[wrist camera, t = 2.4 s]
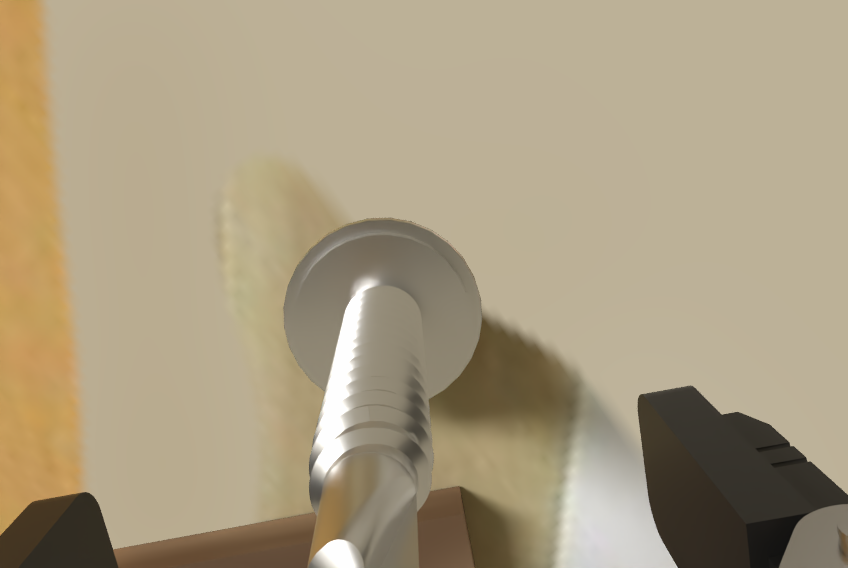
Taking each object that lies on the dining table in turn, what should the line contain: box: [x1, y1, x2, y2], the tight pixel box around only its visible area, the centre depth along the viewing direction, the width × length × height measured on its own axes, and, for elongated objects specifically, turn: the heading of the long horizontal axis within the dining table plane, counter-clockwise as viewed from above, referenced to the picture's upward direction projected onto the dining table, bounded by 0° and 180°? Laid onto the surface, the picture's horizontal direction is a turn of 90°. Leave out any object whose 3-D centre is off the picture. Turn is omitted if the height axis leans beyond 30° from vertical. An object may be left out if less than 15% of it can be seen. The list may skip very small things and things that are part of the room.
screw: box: [284, 218, 482, 568], centre depth 15 cm, size 13×5×5 cm
